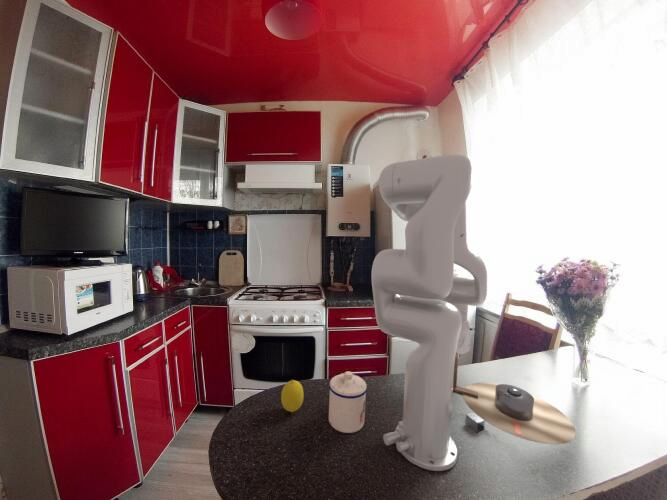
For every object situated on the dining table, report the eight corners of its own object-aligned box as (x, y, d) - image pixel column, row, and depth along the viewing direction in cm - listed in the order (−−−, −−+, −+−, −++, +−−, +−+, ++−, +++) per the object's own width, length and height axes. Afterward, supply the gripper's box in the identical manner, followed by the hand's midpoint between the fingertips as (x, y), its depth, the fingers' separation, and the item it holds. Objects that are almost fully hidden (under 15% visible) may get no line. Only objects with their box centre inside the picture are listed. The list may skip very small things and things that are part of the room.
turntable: (598, 473, 49) (603, 414, 48) (438, 414, 63) (440, 369, 63) (562, 404, 70) (566, 363, 70) (449, 372, 85) (451, 338, 84)
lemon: (276, 411, 62) (277, 380, 62) (293, 401, 66) (294, 372, 66) (289, 423, 59) (291, 389, 58) (307, 412, 63) (308, 380, 62)
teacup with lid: (369, 434, 56) (371, 383, 56) (328, 435, 55) (331, 383, 55) (359, 400, 68) (361, 358, 68) (325, 400, 67) (327, 358, 67)
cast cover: (535, 426, 59) (536, 403, 59) (494, 412, 63) (496, 391, 63) (530, 407, 66) (532, 387, 66) (494, 396, 70) (495, 377, 70)
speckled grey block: (476, 433, 58) (477, 422, 58) (465, 424, 61) (466, 414, 61) (483, 430, 59) (484, 420, 59) (472, 421, 62) (472, 412, 62)
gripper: (445, 319, 70) (441, 384, 70) (481, 316, 76) (477, 376, 76) (425, 312, 77) (421, 371, 77) (460, 310, 83) (456, 365, 83)
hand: (449, 374), depth 77 cm, fingers closed
